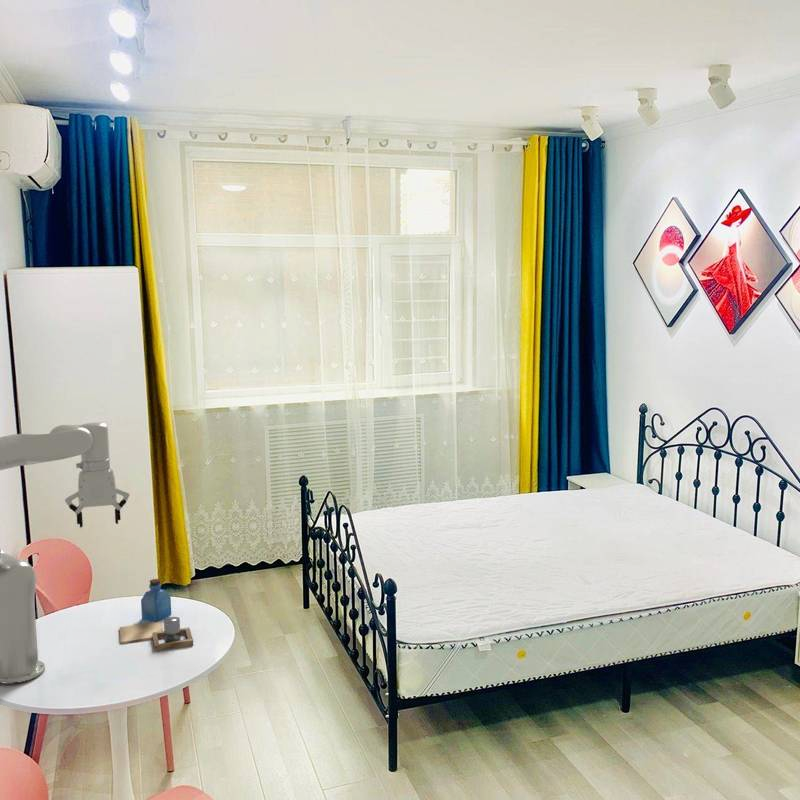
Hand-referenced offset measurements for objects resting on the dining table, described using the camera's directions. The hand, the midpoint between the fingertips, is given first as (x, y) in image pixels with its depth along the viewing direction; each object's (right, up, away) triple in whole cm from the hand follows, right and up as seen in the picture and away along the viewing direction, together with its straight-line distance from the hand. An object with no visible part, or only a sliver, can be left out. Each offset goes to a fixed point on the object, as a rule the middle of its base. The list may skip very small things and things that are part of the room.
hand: (99, 524), depth 232 cm
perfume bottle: (+12, -32, +17) cm, 38 cm away
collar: (+22, -33, -2) cm, 40 cm away
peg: (+22, -33, -2) cm, 40 cm away
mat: (+11, -33, +5) cm, 35 cm away
